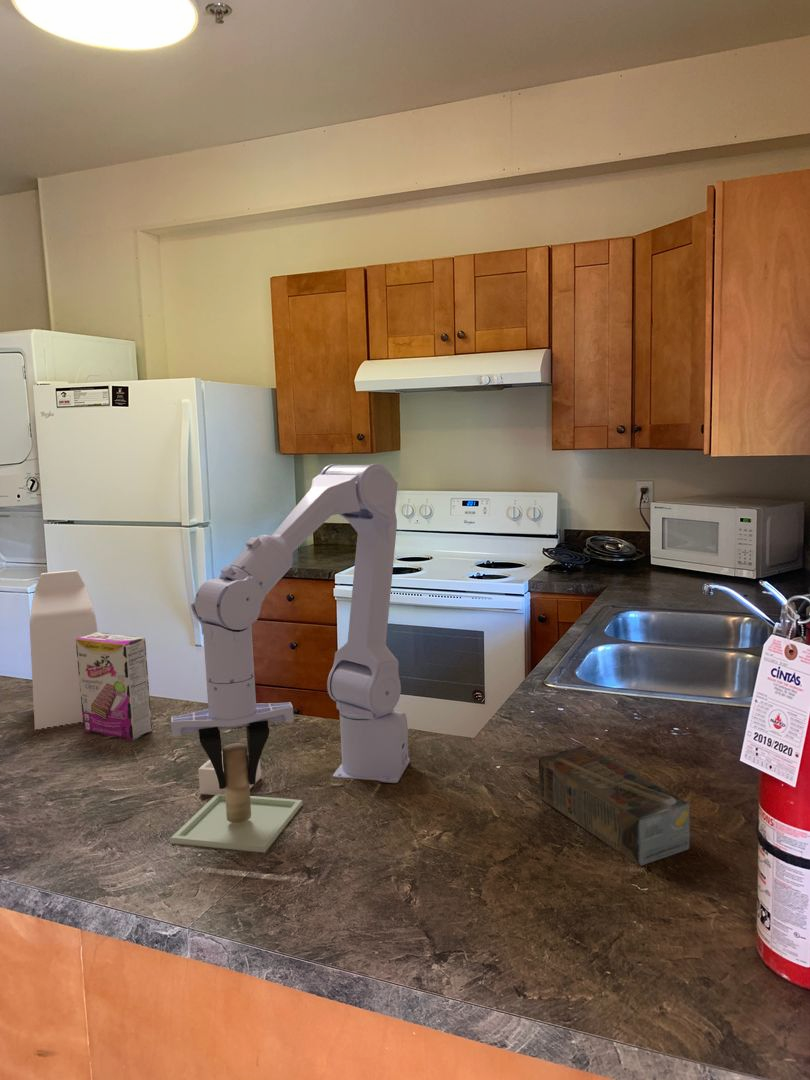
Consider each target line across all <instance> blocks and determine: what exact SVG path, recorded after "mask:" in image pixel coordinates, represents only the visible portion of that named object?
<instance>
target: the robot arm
mask: <svg viewBox="0 0 810 1080" xmlns="http://www.w3.org/2000/svg"><path fill="white" fill-rule="evenodd" d="M397 495H398V482H397V480H396V479H395V477H394V476H393V475H392V473H391V472H390V470H389V469H388V468H387V467H386V466H385V465H384V464H383V465H382V464H380V463H371V464H338V463H332V464H328V465H327V466H324V468H323V469H322V470H321V472H320V473H319V474H318V475H317V476H315V477H313V478H312V479H311V487H310V489H309V490H308V491H307V492H306V494H305V495H304V496H303V497H302V498H301V500H300V501H299V502H298V503H297V504H296V506H295V507H294V508H293V509H292V511H290V513H289V514H287V516H286V518H285V519H284V520H283V521H282V522H281V523H280V525H278V527H277V528H276V529H275V530H274V531H273V533H272V534H260V535H258V536H257V537H253V536H252V537H250V538H249V539H248V540H247V541H246V542H245V545H246V547H245V549H244V550H243V551H242V552H240V554H239V555H238V556H237V557H236V558H235V559H234V560H233V561H232V562H231V563H230V564H229V566H228V565H225V566H224V567H223V568H222V569H221V570H220V573H221V574H220V576H219V577H213V578H210V579H207V580H206V581H205V582H204V583H202V584H201V585H200V587H199V588H198V589H197V592H196V594H195V598H194V602H192V603H190V609H191V611H192V614H193V616H194V617H195V619H196V620H197V621H198V622H199V624H200V626H201V634H202V635H203V646H204V647H203V648H204V649H203V650H204V664H205V679H206V691H207V692H206V693H207V706H208V707H207V709H202V710H198V711H193V712H190V713H185V714H181V715H180V714H179V715H175V716H173V715H172V716H170V724H171V725H170V726H171V727H170V728H171V737H172V738H178V737H181V736H182V735H187V734H193V733H198V737H199V742H200V745H201V747H202V749H203V750H204V751H205V753H206V755H207V757H208V758H209V759H210V761H211V763H212V765H213V767H214V769H215V772H216V775H217V778H218V782H219V789H225V778H224V772H223V765H222V748H223V746H222V738H221V731H220V730H224V729H231V728H239V727H240V728H241V727H245V731H246V743H247V744H246V745H247V751H248V768H249V783H250V785H251V784H255V781H256V772H257V767H258V763H259V759H260V760H261V755H262V754H263V751H264V747H265V745H266V743H267V741H268V738H269V736H270V727H269V724H272V723H278V722H284V723H293V722H294V720H295V719H294V718H295V717H294V706H293V704H292V702H290V701H289V702H277V703H276V702H275V703H274V702H273V703H272V702H270V703H269V702H266V703H262V702H261V703H257V697H256V682H255V664H254V662H255V661H254V647H253V631H252V629H253V628H252V626H253V625H252V624H253V623H255V622H257V620H258V618H259V616H260V614H261V609H262V605H263V604H262V603H263V602H264V600H265V599H266V596H267V595H268V593H269V592H270V591H271V590H272V589H273V588H274V587H275V586H276V585H277V583H278V582H280V580H281V579H282V578H283V577H284V576H285V575H286V573H288V572H289V570H290V569H292V566H293V564H294V560H293V557H294V556H293V553H294V552H295V551H296V549H298V548H299V547H300V546H301V545H302V544H303V543H304V542H305V541H306V540H308V539H309V537H310V536H312V535H313V534H314V533H315V532H316V531H317V530H318V529H319V528H320V527H321V526H322V525H323V524H324V523H325V522H327V521H328V520H329V518H331V517H332V516H335V515H336V516H337V515H339V516H340V517H342V518H343V519H345V520H346V521H347V522H348V523H349V524H350V525H351V527H352V528H353V529H354V530H355V532H356V533H357V537H356V539H357V540H356V547H355V548H356V549H355V559H354V567H353V568H354V570H353V581H352V588H351V589H352V590H351V591H352V592H351V600H350V610H349V611H350V612H349V613H350V614H349V622H348V634H347V642H345V644H344V645H342V646H341V647H340V648H338V650H337V651H335V652H334V658H333V659H334V660H333V665H332V668H331V670H330V671H329V674H328V677H327V683H326V689H327V693H328V695H329V697H330V698H331V699H332V700H333V702H334V701H335V703H336V710H338V711H339V725H340V726H339V729H340V731H339V732H340V747H341V748H340V749H341V764H340V765H339V767H338V768H337V769H336V770H335V772H333V775H332V777H333V778H341V779H354V780H370V781H378V782H379V783H387V784H388V783H390V784H396V783H398V782H399V781H400V780H401V778H402V776H403V774H404V772H405V771H406V769H407V767H408V765H409V764H410V761H411V758H410V757H409V736H408V735H409V730H408V728H409V727H408V720H407V719H408V718H407V713H405V712H403V711H402V712H401V711H396V710H394V709H395V708H396V706H397V704H398V702H399V701H400V699H401V698H400V697H401V694H402V693H401V692H402V686H401V685H402V684H401V680H400V679H401V678H400V677H399V676H400V675H399V667H400V666H399V660H398V659H397V658H396V657H395V655H394V654H393V653H392V651H391V650H390V649H389V647H388V646H387V635H388V623H389V614H390V613H389V612H390V602H391V593H392V592H391V591H392V579H393V571H394V570H393V569H394V561H395V552H396V551H395V549H396V539H397V538H396V537H397V530H398V529H397V526H398V522H397V521H398V520H397V519H398V518H397V513H396V505H397ZM209 759H208V760H209ZM255 785H256V784H255Z"/></svg>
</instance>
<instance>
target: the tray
mask: <svg viewBox="0 0 810 1080" xmlns="http://www.w3.org/2000/svg"><path fill="white" fill-rule="evenodd" d="M250 802H251V817H250V819H248V820H246V821H244V822H239V823H232V822H229V821H228V820H227V815H226V799H225V794H222V793H217V794H216V795H213V797H211V799H210V800H209V801H208V802H206V804H204V805H203V807H202V808H200V809H199V810H198V811H197V812H196V813H195V814H194V815H193V816H192V817H191V818H189V820H188V821H186V823H185V824H184V825H182V826H181V827H180V828H179V829H177V831H176V832H175V833H173V834H172V836H171V837H170V842H171V844H174V845H182V846H191V847H192V846H194V847H203V848H213V849H222V850H231V851H232V850H234V851H242V852H252V853H262V854H265V853H266V852H267V851H268V850H269V849H270V847H271V846H272V845H273V843H274V842H275V841H276V840H277V838H278V837H279V836H280V834H281V833H282V832H283V831H284V830H285V828H286V827H287V826H288V824H289V823H290V822H291V821H292V820H293V818H294V816H295V815H296V814H297V813H299V812H298V811H299V810H300V809H301V807H303V799H293V798H282V797H281V798H280V797H270V796H269V797H268V796H257V795H250Z"/></svg>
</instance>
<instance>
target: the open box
mask: <svg viewBox="0 0 810 1080" xmlns="http://www.w3.org/2000/svg"><path fill="white" fill-rule="evenodd" d="M222 765H223V752H222ZM197 770H198V781H199V782H198V783H199V794H200V795H209V796H210V795H211V796H215V795H216V794H217V793H222V794H225V789H219V782H218V778H217V775H216V772H215V769H214V767H213V765H212V763H211V761H210V759H208V760H207V761H205V762H204V764H202V765H201V766H200V767H199V768H198V769H197ZM261 770H262V768H261V758H260V759H259V763H258V767H257V772H256V781H255V784H251V785H250V783H249V785H250V790H251V789H252V787H254V786H255V785H256V784H257V783H258V782H259V780H260V779H261V778H262V771H261ZM223 772H224V768H223Z"/></svg>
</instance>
